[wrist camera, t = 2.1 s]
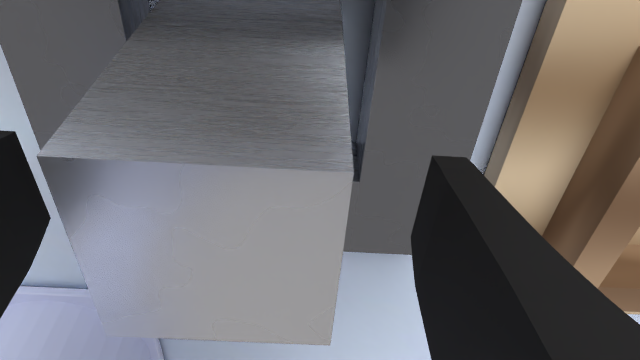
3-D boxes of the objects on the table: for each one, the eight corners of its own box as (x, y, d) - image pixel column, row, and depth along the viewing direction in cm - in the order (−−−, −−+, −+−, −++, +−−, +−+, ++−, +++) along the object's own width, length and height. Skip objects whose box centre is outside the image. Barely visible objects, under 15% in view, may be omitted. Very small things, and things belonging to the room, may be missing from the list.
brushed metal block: (327, 113, 15) (330, 345, 9) (198, 106, 15) (106, 336, 9) (338, -20, 12) (353, 172, 6) (183, -30, 12) (36, 156, 6)
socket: (428, 214, 17) (438, 256, 16) (96, 197, 17) (73, 238, 16) (547, -207, 10) (589, -206, 8) (-44, -255, 9) (-116, -264, 8)
